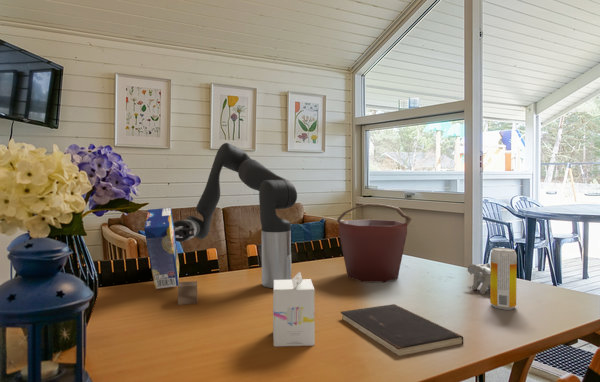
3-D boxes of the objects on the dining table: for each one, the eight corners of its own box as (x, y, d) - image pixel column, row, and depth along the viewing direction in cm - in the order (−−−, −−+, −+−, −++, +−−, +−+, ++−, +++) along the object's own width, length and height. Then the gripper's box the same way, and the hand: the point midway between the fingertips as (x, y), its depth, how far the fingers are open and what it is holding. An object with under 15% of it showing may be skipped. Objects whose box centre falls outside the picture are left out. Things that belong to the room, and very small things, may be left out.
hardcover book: (398, 359, 78) (398, 347, 77) (340, 321, 99) (340, 311, 99) (463, 346, 84) (463, 335, 84) (396, 312, 105) (396, 303, 105)
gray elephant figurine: (488, 297, 117) (490, 271, 116) (454, 286, 127) (455, 261, 127) (509, 293, 121) (510, 268, 121) (474, 282, 132) (475, 259, 131)
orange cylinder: (514, 304, 109) (514, 248, 109) (518, 311, 104) (518, 252, 103) (489, 302, 111) (489, 247, 111) (491, 309, 106) (492, 250, 105)
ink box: (272, 331, 91) (272, 271, 90) (310, 330, 91) (310, 270, 91) (273, 347, 82) (273, 280, 82) (315, 346, 83) (315, 279, 82)
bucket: (417, 274, 144) (417, 203, 143) (395, 289, 125) (396, 207, 125) (353, 266, 157) (353, 201, 156) (325, 278, 138) (325, 204, 138)
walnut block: (197, 298, 116) (197, 281, 116) (197, 303, 112) (197, 285, 111) (178, 299, 115) (178, 282, 115) (178, 305, 110) (177, 286, 110)
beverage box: (179, 264, 137) (171, 207, 127) (178, 286, 128) (169, 226, 118) (157, 267, 136) (147, 209, 126) (155, 289, 127) (144, 228, 116)
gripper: (165, 219, 149) (147, 222, 132) (202, 220, 149) (188, 222, 131) (165, 240, 149) (146, 245, 132) (201, 240, 149) (188, 246, 131)
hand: (167, 234), depth 132 cm, fingers closed
